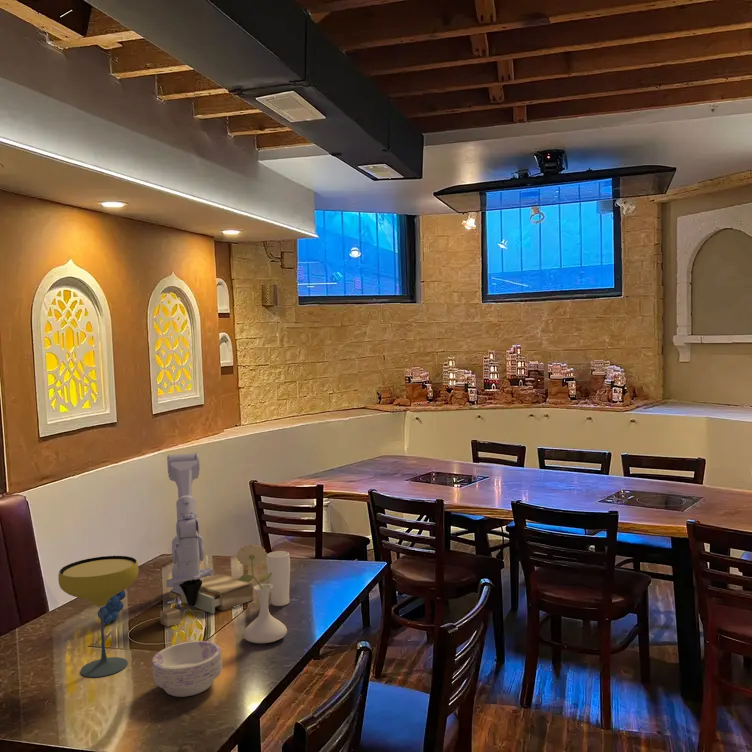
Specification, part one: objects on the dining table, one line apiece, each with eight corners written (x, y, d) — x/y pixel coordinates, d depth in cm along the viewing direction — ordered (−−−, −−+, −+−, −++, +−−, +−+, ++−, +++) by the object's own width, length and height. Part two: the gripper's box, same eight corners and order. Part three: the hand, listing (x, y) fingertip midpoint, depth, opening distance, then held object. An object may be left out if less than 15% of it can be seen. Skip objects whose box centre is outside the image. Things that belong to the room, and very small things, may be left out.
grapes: (111, 613, 214) (109, 573, 214) (132, 614, 212) (129, 574, 212) (86, 628, 203) (84, 586, 203) (107, 629, 201) (105, 587, 201)
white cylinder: (281, 598, 221) (278, 549, 221) (296, 602, 217) (294, 552, 216) (264, 604, 216) (261, 555, 215) (279, 609, 212) (277, 558, 211)
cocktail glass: (48, 684, 168) (42, 577, 168) (89, 651, 186) (83, 555, 186) (121, 685, 166) (115, 577, 165) (155, 652, 184) (150, 555, 183)
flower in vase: (294, 631, 194) (289, 539, 193) (276, 649, 183) (272, 551, 182) (249, 628, 197) (244, 537, 197) (230, 645, 186) (225, 549, 186)
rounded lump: (199, 597, 219) (198, 591, 219) (214, 592, 223) (213, 586, 223) (209, 600, 216) (209, 594, 215) (224, 595, 220) (224, 589, 220)
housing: (191, 599, 224) (191, 582, 223) (221, 589, 232) (220, 573, 231) (223, 610, 212) (222, 593, 212) (253, 600, 220) (252, 583, 220)
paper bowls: (141, 689, 164) (139, 654, 163) (200, 667, 174) (199, 634, 174) (175, 711, 153) (173, 674, 152) (236, 686, 163) (234, 651, 163)
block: (160, 623, 204) (160, 611, 204) (173, 619, 207) (172, 607, 207) (168, 627, 201) (167, 614, 201) (180, 622, 204) (180, 610, 204)
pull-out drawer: (181, 602, 221) (180, 587, 221) (210, 592, 229) (209, 578, 228) (212, 613, 210) (211, 597, 210) (241, 603, 217) (241, 588, 217)
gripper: (174, 568, 206) (177, 615, 206) (217, 556, 216) (220, 601, 217) (161, 563, 211) (164, 610, 211) (204, 552, 221) (206, 596, 222)
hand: (191, 605), depth 214 cm, fingers closed
